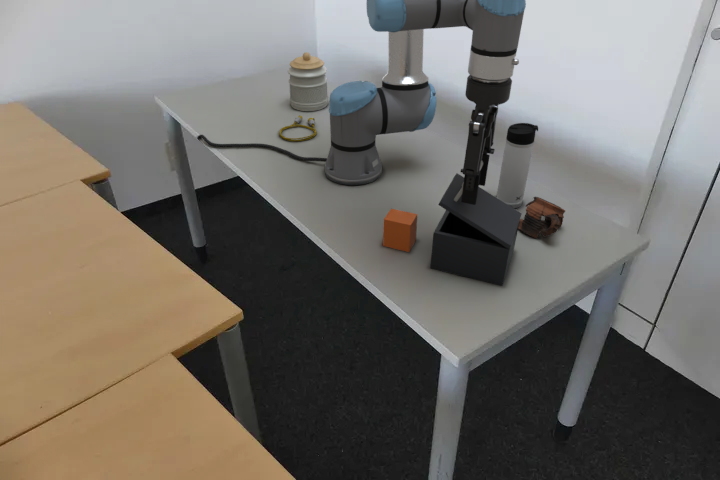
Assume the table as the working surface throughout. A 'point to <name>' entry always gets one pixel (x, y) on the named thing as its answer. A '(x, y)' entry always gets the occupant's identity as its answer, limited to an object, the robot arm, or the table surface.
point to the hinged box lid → (482, 212)
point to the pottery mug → (534, 214)
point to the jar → (308, 83)
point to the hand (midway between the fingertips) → (473, 192)
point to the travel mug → (516, 163)
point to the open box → (469, 251)
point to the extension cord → (298, 120)
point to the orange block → (399, 230)
